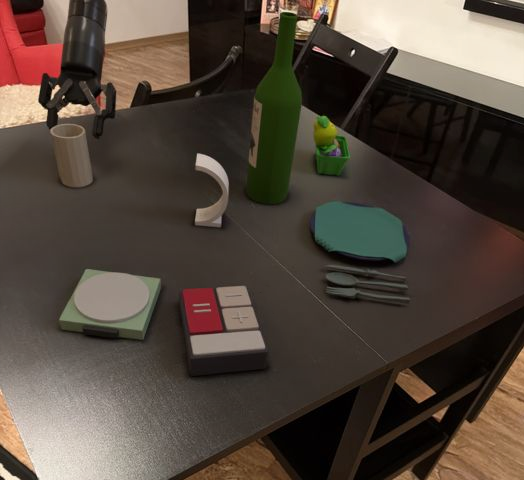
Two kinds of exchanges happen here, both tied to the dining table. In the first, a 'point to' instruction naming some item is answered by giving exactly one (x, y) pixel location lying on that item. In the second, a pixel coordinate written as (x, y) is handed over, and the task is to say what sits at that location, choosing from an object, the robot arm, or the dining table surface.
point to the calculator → (221, 330)
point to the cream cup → (72, 155)
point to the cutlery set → (360, 243)
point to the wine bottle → (275, 122)
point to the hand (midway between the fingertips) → (74, 134)
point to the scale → (111, 305)
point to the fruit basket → (329, 147)
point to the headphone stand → (214, 212)
